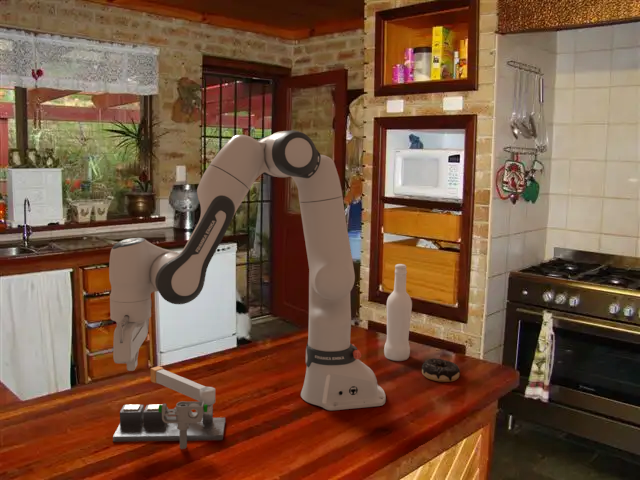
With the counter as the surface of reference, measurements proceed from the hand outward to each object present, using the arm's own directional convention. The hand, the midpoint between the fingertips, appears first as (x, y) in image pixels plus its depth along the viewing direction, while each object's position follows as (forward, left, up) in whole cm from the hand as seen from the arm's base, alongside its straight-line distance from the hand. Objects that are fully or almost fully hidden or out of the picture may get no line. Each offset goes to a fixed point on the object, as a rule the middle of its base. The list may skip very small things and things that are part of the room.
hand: (132, 368), depth 142 cm
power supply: (-5, 0, -13) cm, 14 cm away
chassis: (-9, +3, -14) cm, 17 cm away
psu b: (0, 0, -13) cm, 13 cm away
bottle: (-72, -47, -14) cm, 87 cm away
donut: (-82, -32, -15) cm, 89 cm away
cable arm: (-10, -6, -8) cm, 15 cm away
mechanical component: (-13, +10, -14) cm, 22 cm away
